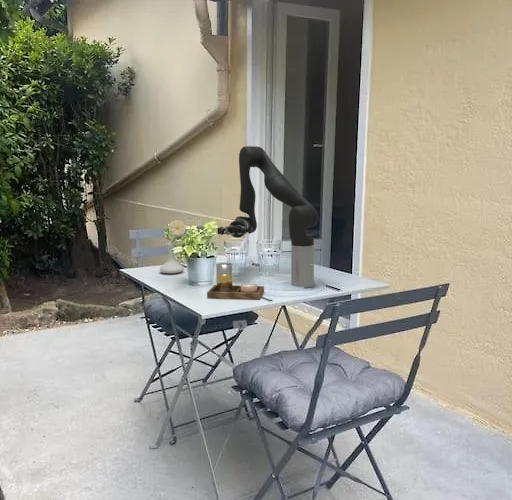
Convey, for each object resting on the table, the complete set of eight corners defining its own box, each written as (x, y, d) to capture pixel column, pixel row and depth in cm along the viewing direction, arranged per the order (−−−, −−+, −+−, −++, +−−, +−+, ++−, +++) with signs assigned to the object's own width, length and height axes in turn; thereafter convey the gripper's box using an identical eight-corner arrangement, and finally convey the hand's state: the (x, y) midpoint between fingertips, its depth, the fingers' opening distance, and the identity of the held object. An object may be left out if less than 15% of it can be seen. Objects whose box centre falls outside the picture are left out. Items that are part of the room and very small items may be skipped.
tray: (264, 293, 214) (264, 286, 214) (259, 301, 203) (259, 293, 202) (214, 292, 217) (214, 284, 217) (207, 299, 206) (207, 292, 205)
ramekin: (258, 293, 212) (258, 283, 211) (255, 297, 205) (255, 287, 205) (242, 293, 213) (242, 282, 212) (239, 297, 206) (239, 286, 206)
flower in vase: (157, 275, 250) (155, 221, 246) (161, 270, 261) (159, 218, 257) (186, 275, 250) (184, 221, 246) (188, 270, 262) (187, 218, 257)
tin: (234, 292, 213) (233, 262, 211) (230, 296, 207) (230, 265, 205) (218, 292, 214) (218, 262, 212) (215, 296, 208) (214, 265, 206)
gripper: (222, 219, 238) (214, 223, 222) (254, 219, 236) (248, 222, 220) (223, 236, 239) (215, 241, 223) (255, 236, 237) (249, 240, 221)
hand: (231, 232), depth 221 cm, fingers open, 8 cm apart
